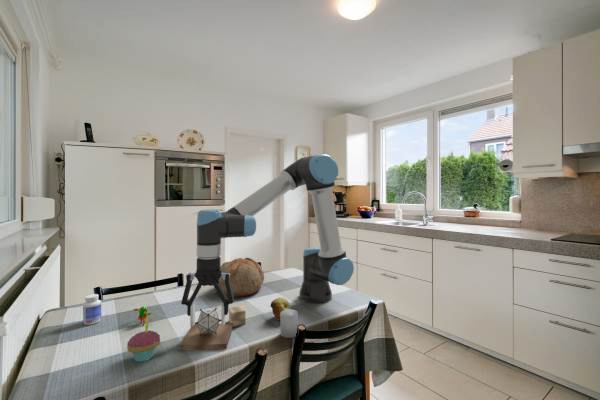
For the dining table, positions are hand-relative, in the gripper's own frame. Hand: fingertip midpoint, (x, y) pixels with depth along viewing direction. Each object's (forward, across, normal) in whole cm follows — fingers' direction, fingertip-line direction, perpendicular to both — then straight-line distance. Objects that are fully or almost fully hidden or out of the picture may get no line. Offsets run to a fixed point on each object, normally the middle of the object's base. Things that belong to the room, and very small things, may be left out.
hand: (208, 324), depth 95 cm
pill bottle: (+5, +45, -15) cm, 48 cm away
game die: (+3, 0, 0) cm, 3 cm away
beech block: (+5, -8, -11) cm, 15 cm away
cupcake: (+5, +16, +10) cm, 19 cm away
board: (+4, 0, 0) cm, 5 cm away
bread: (+5, -5, -49) cm, 50 cm away
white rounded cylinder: (+4, -27, -1) cm, 28 cm away
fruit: (+4, -24, -13) cm, 28 cm away
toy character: (+5, +25, -13) cm, 29 cm away
